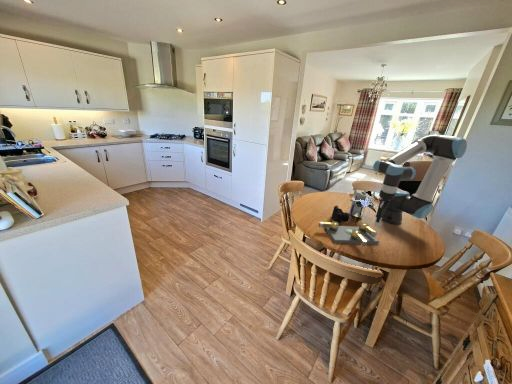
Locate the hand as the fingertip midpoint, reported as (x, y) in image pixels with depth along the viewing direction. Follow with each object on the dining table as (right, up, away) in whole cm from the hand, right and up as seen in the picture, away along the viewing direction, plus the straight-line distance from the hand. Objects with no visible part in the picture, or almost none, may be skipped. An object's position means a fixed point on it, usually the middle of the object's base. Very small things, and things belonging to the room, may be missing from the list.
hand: (376, 226), depth 129 cm
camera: (-15, 0, +21) cm, 25 cm away
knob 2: (-4, -5, +5) cm, 8 cm away
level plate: (-14, -7, +4) cm, 16 cm away
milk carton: (+1, +3, +31) cm, 32 cm away
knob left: (-14, -8, -4) cm, 17 cm away
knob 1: (-28, -3, +6) cm, 29 cm away
